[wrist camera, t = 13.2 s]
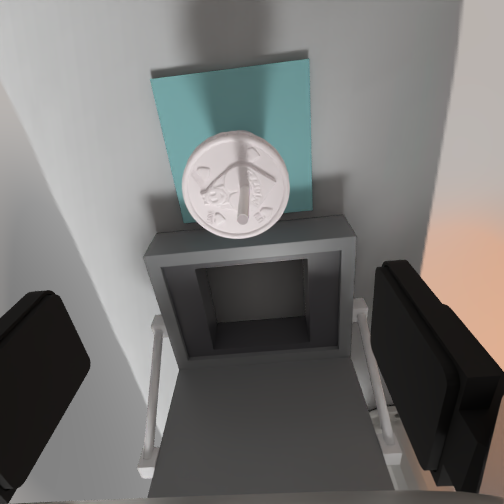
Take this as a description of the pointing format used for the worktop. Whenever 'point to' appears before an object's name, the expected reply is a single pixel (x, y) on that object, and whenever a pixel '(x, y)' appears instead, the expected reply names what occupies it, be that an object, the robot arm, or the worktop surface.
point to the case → (264, 373)
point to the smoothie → (235, 184)
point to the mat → (241, 118)
